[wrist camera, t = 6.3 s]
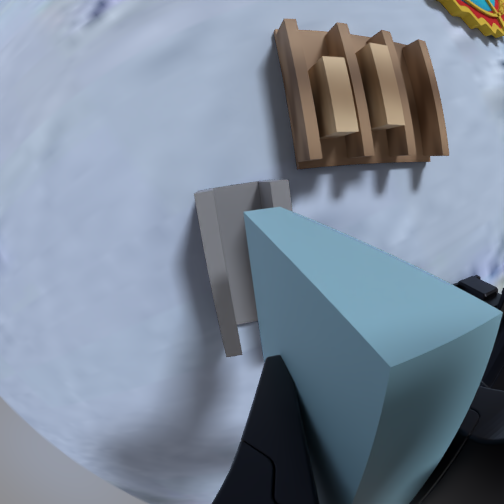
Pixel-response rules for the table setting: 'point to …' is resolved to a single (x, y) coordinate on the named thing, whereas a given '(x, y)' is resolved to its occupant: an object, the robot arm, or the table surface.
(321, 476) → the tall sheet
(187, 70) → the table surface
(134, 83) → the table surface
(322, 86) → the offcut small
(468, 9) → the decorative plaque
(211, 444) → the table surface
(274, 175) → the table surface
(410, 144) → the rack
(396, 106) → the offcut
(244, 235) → the holder
